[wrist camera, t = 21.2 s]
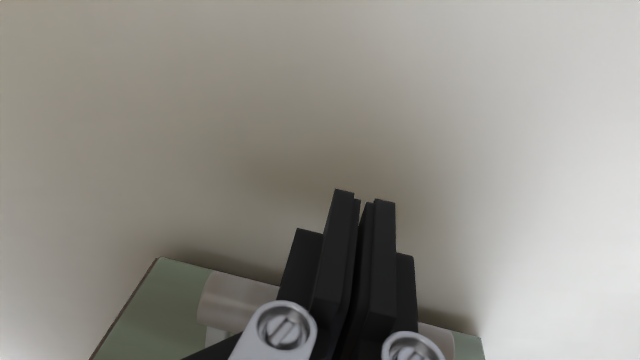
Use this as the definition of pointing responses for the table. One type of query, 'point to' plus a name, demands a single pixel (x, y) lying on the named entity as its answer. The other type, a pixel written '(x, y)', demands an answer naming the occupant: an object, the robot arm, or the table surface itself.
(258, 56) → the table surface
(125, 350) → the drawer
